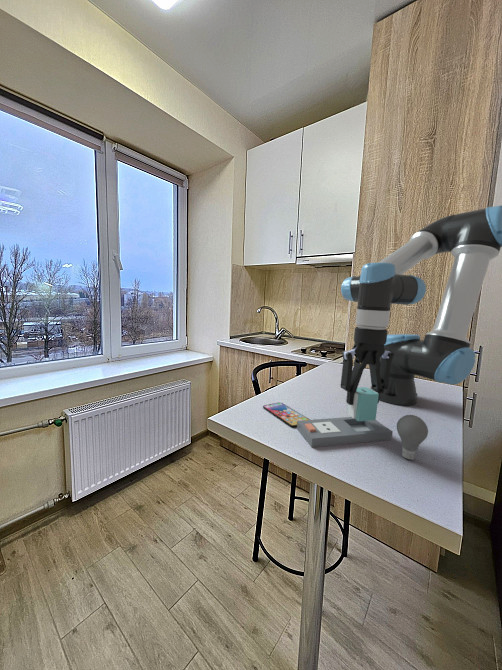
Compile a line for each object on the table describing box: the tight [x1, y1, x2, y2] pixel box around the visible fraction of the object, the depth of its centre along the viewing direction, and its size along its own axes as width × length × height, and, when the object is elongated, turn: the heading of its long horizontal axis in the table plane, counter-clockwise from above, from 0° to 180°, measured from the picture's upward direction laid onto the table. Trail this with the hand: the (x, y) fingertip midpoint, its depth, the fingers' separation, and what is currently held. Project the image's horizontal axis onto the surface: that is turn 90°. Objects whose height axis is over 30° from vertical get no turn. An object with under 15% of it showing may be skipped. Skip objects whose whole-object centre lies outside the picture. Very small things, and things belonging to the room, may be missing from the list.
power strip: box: [296, 416, 393, 448], centre depth 70 cm, size 22×9×3 cm, turn 103°
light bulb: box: [396, 414, 429, 460], centre depth 60 cm, size 6×6×10 cm
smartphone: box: [262, 402, 311, 429], centre depth 81 cm, size 7×1×15 cm
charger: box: [346, 386, 379, 421], centre depth 70 cm, size 5×5×7 cm
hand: (361, 415), depth 71 cm, fingers closed on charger, 5 cm apart
